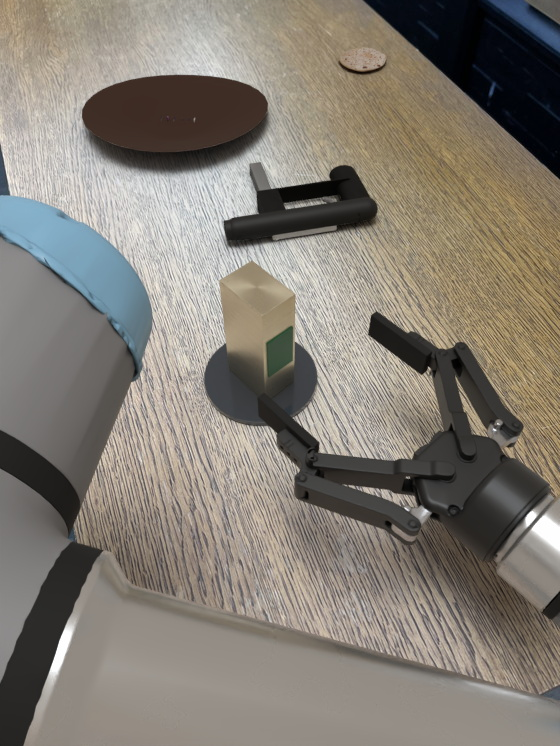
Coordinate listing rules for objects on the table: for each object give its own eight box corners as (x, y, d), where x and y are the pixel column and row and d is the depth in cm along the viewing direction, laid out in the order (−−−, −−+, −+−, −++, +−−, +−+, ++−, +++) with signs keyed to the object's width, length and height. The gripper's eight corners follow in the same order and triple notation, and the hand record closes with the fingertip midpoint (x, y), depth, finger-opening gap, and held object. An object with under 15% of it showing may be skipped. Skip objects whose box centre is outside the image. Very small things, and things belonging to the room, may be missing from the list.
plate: (277, 78, 108) (277, 56, 105) (257, 180, 91) (256, 157, 88) (112, 71, 110) (107, 49, 107) (62, 169, 93) (55, 146, 90)
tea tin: (228, 368, 69) (218, 280, 59) (257, 349, 71) (252, 260, 61) (266, 403, 66) (263, 317, 56) (295, 382, 68) (297, 294, 58)
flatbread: (351, 77, 108) (351, 71, 107) (332, 56, 112) (332, 50, 111) (394, 67, 109) (395, 61, 109) (374, 47, 114) (374, 42, 113)
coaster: (181, 375, 69) (181, 372, 69) (266, 319, 74) (265, 316, 74) (254, 446, 64) (254, 443, 63) (340, 381, 69) (340, 378, 68)
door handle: (207, 164, 89) (227, 233, 78) (347, 144, 92) (384, 208, 81) (209, 185, 91) (229, 255, 81) (345, 165, 94) (382, 230, 84)
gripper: (402, 664, 45) (212, 467, 55) (596, 455, 55) (406, 320, 65) (420, 632, 39) (203, 417, 49) (633, 404, 49) (418, 264, 59)
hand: (319, 361), depth 57 cm, fingers open, 13 cm apart
